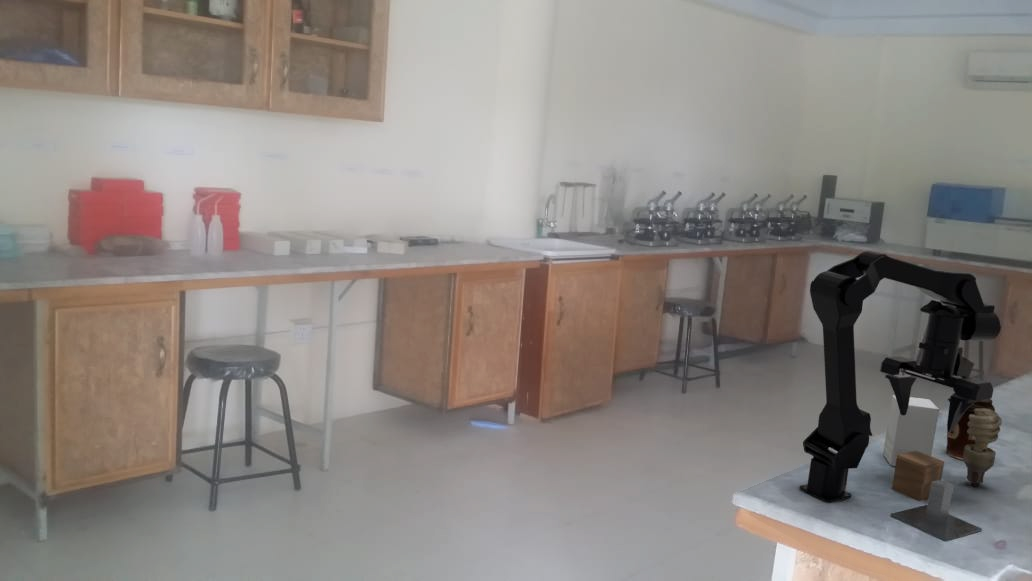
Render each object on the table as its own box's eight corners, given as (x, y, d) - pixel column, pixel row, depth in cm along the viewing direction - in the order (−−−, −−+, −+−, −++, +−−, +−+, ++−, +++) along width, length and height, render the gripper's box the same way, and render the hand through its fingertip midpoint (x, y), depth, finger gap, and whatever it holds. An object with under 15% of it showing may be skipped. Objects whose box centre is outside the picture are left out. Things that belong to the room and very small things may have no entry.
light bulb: (988, 493, 163) (1002, 415, 161) (955, 485, 166) (969, 408, 164) (990, 485, 168) (1004, 408, 166) (958, 477, 171) (972, 402, 168)
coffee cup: (939, 457, 181) (950, 396, 179) (937, 446, 189) (947, 387, 187) (987, 466, 178) (999, 404, 176) (983, 454, 186) (994, 394, 184)
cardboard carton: (919, 501, 157) (925, 465, 156) (891, 489, 162) (897, 454, 161) (938, 496, 160) (944, 461, 159) (910, 484, 165) (916, 450, 164)
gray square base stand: (945, 541, 141) (952, 499, 140) (890, 515, 149) (896, 476, 148) (981, 530, 146) (989, 490, 145) (926, 506, 155) (933, 468, 153)
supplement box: (929, 471, 173) (940, 409, 170) (889, 466, 174) (899, 403, 172) (920, 459, 180) (930, 398, 178) (881, 453, 181) (891, 393, 179)
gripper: (1017, 351, 156) (1000, 436, 159) (920, 326, 172) (906, 404, 174) (983, 353, 150) (965, 441, 153) (885, 327, 165) (871, 408, 168)
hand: (926, 423), depth 162 cm, fingers open, 9 cm apart
